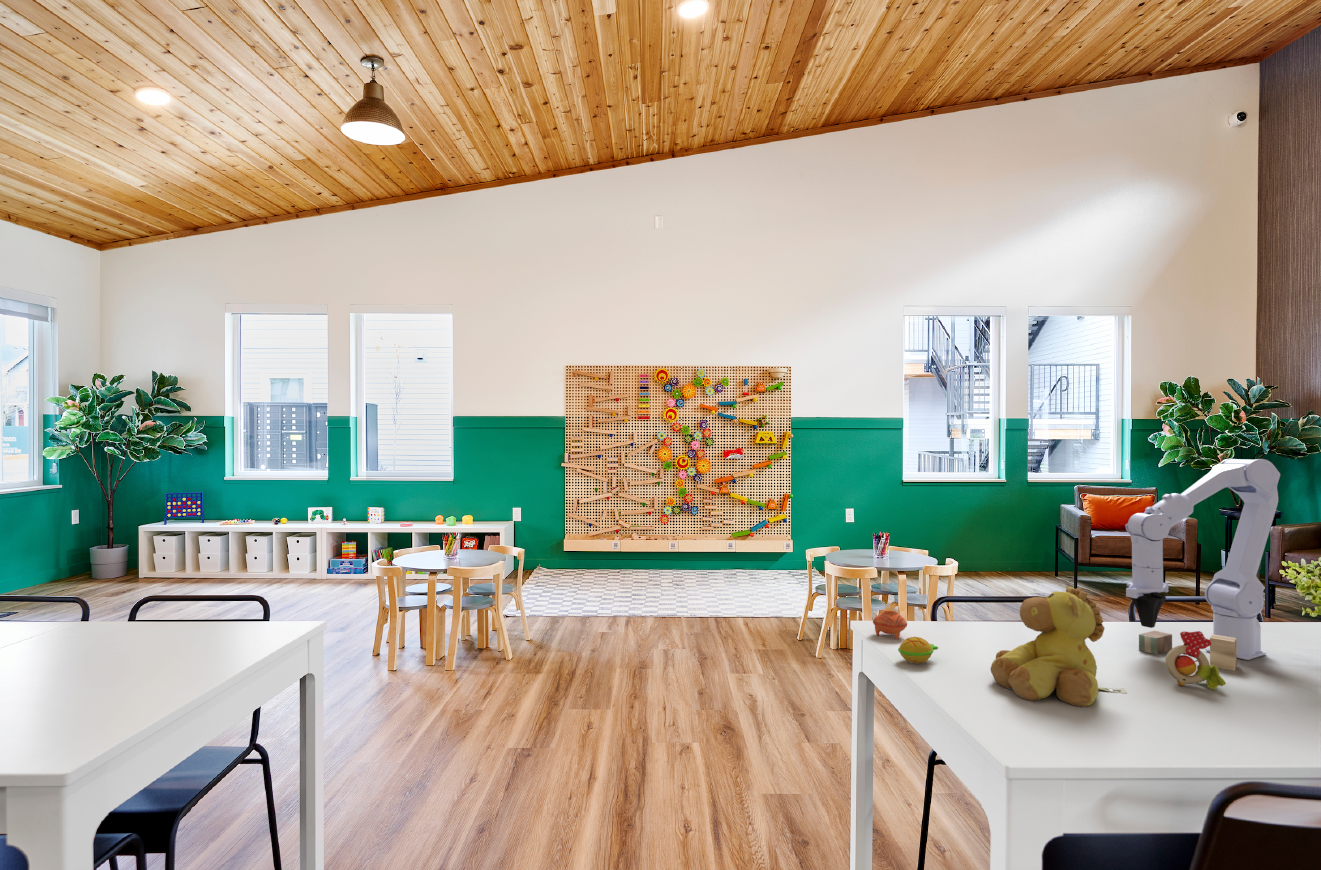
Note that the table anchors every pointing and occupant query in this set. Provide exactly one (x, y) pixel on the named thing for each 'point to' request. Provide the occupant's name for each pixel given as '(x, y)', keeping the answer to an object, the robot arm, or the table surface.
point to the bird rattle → (1192, 662)
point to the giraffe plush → (1055, 650)
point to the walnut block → (1155, 642)
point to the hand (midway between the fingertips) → (1147, 626)
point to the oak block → (1223, 652)
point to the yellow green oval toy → (916, 650)
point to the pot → (889, 623)
